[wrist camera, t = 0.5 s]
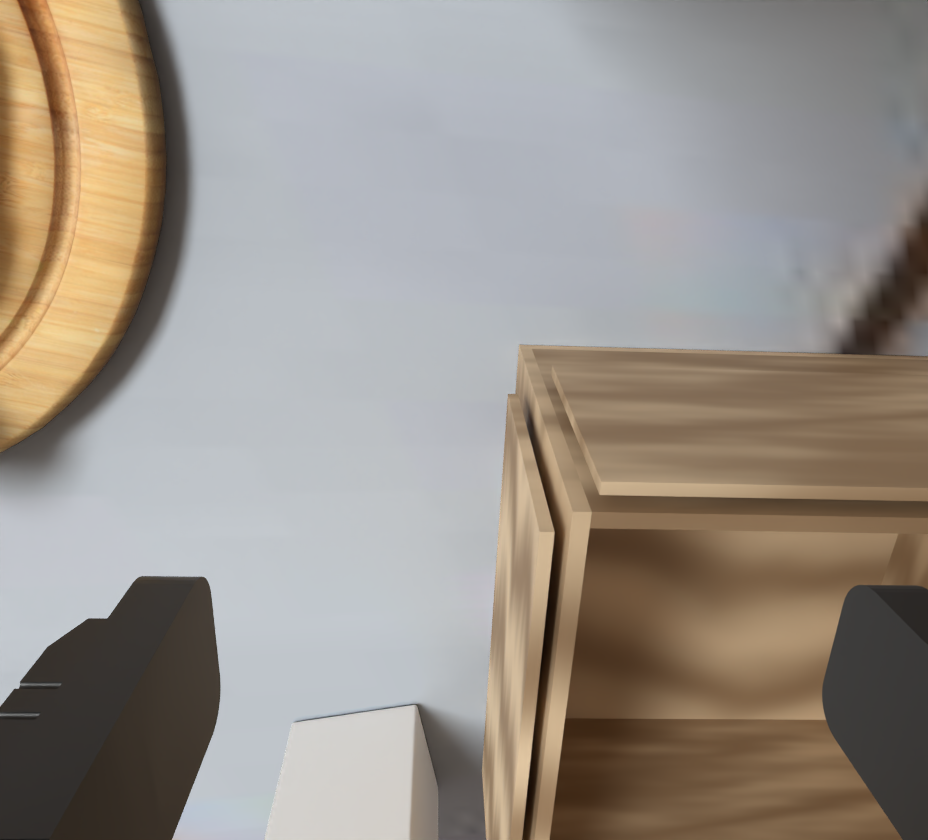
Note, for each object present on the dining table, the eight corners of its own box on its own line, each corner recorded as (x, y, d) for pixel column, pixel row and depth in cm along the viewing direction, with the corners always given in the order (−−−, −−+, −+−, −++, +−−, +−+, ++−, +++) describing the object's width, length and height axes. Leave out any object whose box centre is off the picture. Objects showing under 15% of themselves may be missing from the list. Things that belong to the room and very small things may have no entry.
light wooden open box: (501, 326, 31) (545, 483, 18) (967, 340, 32) (1317, 499, 19) (476, 727, 41) (493, 1014, 28) (836, 729, 42) (1011, 1008, 29)
